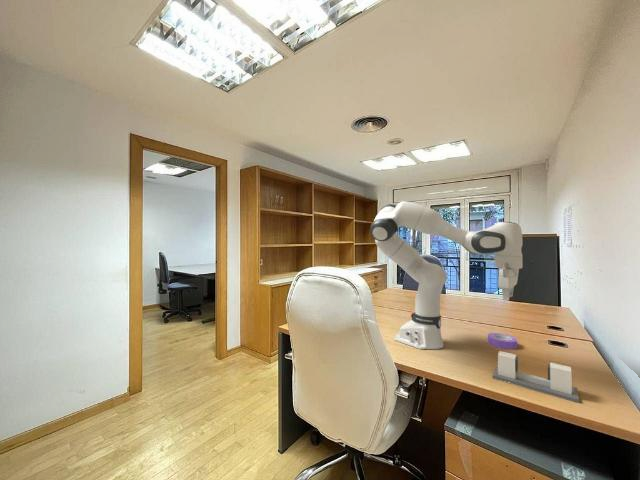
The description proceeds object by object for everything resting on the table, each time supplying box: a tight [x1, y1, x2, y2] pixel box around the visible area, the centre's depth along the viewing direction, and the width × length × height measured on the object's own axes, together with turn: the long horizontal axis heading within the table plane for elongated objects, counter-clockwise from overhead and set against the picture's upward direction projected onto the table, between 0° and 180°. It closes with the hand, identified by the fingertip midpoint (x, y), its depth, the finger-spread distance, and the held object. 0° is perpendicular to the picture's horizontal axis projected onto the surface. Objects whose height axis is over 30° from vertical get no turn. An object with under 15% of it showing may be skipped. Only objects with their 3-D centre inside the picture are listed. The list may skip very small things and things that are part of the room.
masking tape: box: [487, 332, 518, 350], centre depth 125 cm, size 12×12×4 cm
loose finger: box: [497, 350, 519, 379], centre depth 94 cm, size 6×4×7 cm
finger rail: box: [492, 361, 580, 404], centre depth 90 cm, size 22×9×8 cm, turn 48°
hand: (508, 298), depth 102 cm, fingers open, 8 cm apart
